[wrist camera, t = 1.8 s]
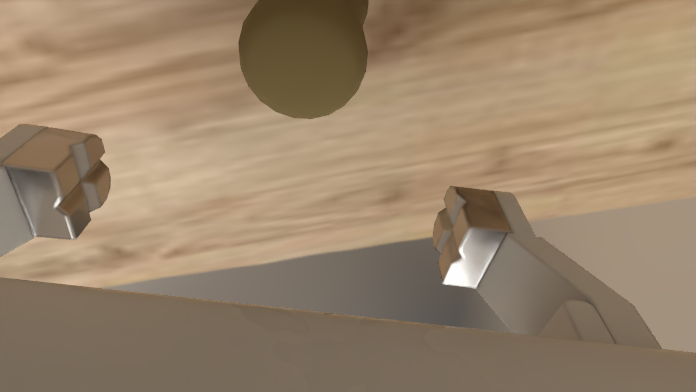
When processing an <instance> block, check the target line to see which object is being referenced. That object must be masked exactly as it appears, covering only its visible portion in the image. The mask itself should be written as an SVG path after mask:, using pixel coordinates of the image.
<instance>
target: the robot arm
mask: <svg viewBox="0 0 696 392" xmlns="http://www.w3.org/2000/svg"><path fill="white" fill-rule="evenodd" d="M104 153H105V150H104V146H103V143H102V139H101V138H99V137H98V136H97V135H94V134H88V133H82V132H76V131H69V130H63V129H57V128H49V127H45V126H38V125H30V124H21V125H18V126H17V127H15V128H14V129H12V130H11V131H10V132H8V133H7V134H6V135H4V136H3V137H2V138H0V257H1V256H3V255H5V254H7V253H8V252H10V251H12V250H14V249H15V248H17V247H19V246H21V245H22V244H24V243H26V242H28V241H30V240H31V239H33V238H34V237H33V236H37V237H47V238H58V239H69V240H76V239H77V237H78V236H79V235H80V234H81V232H82V231H83V230H84V228H85V227H86V226H87V224H88V223H89V222H90V221H91V218H90V214H89V212H91V211H93V210H95V209H98V208H100V207H101V206H102V205H103V203H104V202H105V201H106V199H107V197H108V193H109V190H110V181H111V177H110V172H109V168H108V167H107V166H106V165H105V164H104V163H103V162H102V161H101V160H100V158H101V157H102V156H103V154H104ZM444 202H445V206H446V208H445V209H443V210H442V211H440V212H439V213H438V215H437V218H436V221H435V223H434V230H433V243H434V248H435V250H436V251H437V252H438V253H439V254H440V255H441V256H440V259H439V261H438V266H439V270H440V274H441V278H442V283H443V284H448V285H455V286H462V287H470V288H476V289H477V291H478V292H479V294H480V295H481V296H482V297H483V299H485V301H486V302H487V303H488V304H489V306H490V307H491V308H492V309H493V310H494V312H495V313H496V314H497V315H498V316H499V318H500V319H501V320H502V321H503V322H504V323H505V325H506V326H507V327H508V328H509V329H510V331H511V332H512V333H509V332H499V331H490V330H481V329H471V328H461V327H452V326H443V325H433V324H424V323H415V322H405V321H397V320H388V319H378V318H370V317H361V316H352V315H343V314H334V313H325V312H315V311H306V310H296V309H288V308H278V307H269V306H260V305H251V304H241V303H232V302H223V301H213V300H203V299H195V298H186V297H176V296H167V295H158V294H148V293H139V292H129V291H120V290H112V289H102V288H93V287H84V286H75V285H65V284H56V283H47V282H38V281H29V280H19V279H10V278H1V277H0V392H696V353H693V352H684V351H674V350H666V349H662V348H661V346H660V345H659V343H658V342H657V340H656V338H655V337H654V335H653V334H652V332H651V331H650V329H649V328H648V326H647V325H646V323H645V322H644V320H643V319H642V317H641V316H640V314H639V313H638V311H637V310H636V308H635V307H634V306H633V305H632V304H631V303H629V302H628V301H627V300H626V299H624V298H623V297H621V296H620V295H619V294H617V293H616V292H615V291H613V290H612V289H611V288H609V287H608V286H607V285H605V284H604V283H603V282H601V281H600V280H599V279H597V278H596V277H595V276H593V275H592V274H591V273H589V272H588V271H586V270H585V269H584V268H582V267H581V266H580V265H578V264H577V263H576V262H574V261H573V260H571V259H570V258H569V257H567V256H566V255H565V254H564V253H562V252H561V251H559V250H558V249H557V248H555V247H554V246H553V245H551V244H550V243H548V242H547V241H546V240H545V239H543V238H541V237H536V236H535V234H534V232H533V230H532V228H531V227H530V225H529V223H528V221H527V219H526V217H525V215H524V213H523V211H522V209H521V207H520V205H519V203H518V201H517V200H516V198H515V196H514V195H513V194H512V193H510V192H501V191H489V190H480V189H472V188H464V187H456V186H450V187H449V189H448V190H447V192H446V194H445V197H444Z"/></svg>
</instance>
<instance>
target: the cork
mask: <svg viewBox="0 0 696 392" xmlns="http://www.w3.org/2000/svg"><path fill="white" fill-rule="evenodd" d="M367 9H368V0H259V1H258V2H257V3H256V4H255V6H254V7H253V9H252V10H251V12H250V13H249V15H248V16H247V18H246V19H245V21H244V22H243V26H242V30H241V34H240V39H239V43H238V44H239V54H240V65H241V70H242V72H243V74H244V77H245V79H246V82H247V84H248V86H249V87H250V89H251V90H252V91H253V92H254V94H255V95H256V96H257V97H258V98H259V100H260V101H261V102H263V103H264V104H266V105H267V106H269V107H270V108H271V109H273V110H274V111H276V112H278V113H281V114H284V115H287V116H290V117H292V118H305V119H313V118H317V117H322V116H326V115H329V114H331V113H333V112H334V111H336V110H338V109H340V108H341V107H343V106H344V105H345V104H346V103H347V102H348V101H349V100H350V99H351V98H352V96H353V95H354V94H355V93H356V92H357V90H358V88H359V86H360V84H361V81H362V79H363V77H364V75H365V72H366V65H367V54H368V50H367V45H366V40H365V36H364V31H363V27H362V26H363V23H364V20H365V18H366V15H367Z"/></svg>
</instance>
